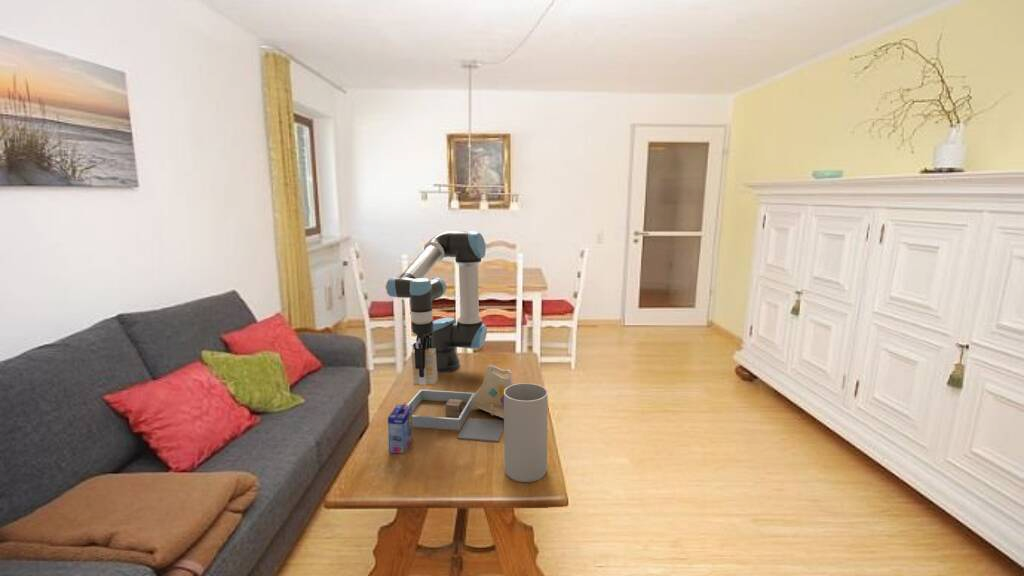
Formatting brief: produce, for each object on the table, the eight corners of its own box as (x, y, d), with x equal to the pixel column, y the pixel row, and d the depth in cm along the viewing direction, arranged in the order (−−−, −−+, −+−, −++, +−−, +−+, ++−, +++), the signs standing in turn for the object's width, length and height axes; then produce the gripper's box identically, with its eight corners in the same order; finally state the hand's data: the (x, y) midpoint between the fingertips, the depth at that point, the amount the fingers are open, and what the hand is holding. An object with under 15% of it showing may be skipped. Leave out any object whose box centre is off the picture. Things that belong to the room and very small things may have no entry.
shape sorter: (529, 417, 170) (529, 370, 167) (509, 426, 162) (509, 378, 160) (491, 402, 183) (491, 359, 181) (471, 410, 176) (471, 365, 173)
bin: (420, 398, 187) (420, 389, 186) (475, 402, 183) (475, 392, 182) (398, 425, 165) (397, 415, 164) (460, 430, 161) (459, 419, 160)
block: (449, 411, 176) (449, 399, 175) (462, 412, 175) (462, 399, 174) (446, 417, 171) (445, 404, 170) (459, 418, 170) (458, 405, 169)
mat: (468, 419, 169) (467, 418, 169) (505, 422, 167) (505, 420, 167) (457, 438, 156) (457, 437, 156) (498, 442, 153) (498, 440, 153)
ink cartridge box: (405, 454, 146) (403, 411, 144) (388, 453, 147) (385, 411, 144) (413, 438, 156) (411, 398, 153) (397, 437, 156) (395, 397, 154)
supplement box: (438, 380, 175) (436, 348, 172) (434, 386, 170) (433, 352, 167) (416, 380, 176) (414, 347, 173) (412, 385, 171) (410, 352, 168)
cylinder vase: (533, 488, 129) (534, 405, 124) (496, 474, 135) (495, 394, 130) (553, 467, 139) (555, 388, 134) (518, 455, 146) (518, 380, 141)
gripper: (421, 314, 177) (424, 371, 182) (402, 328, 160) (406, 390, 165) (439, 314, 176) (442, 372, 181) (423, 329, 159) (427, 392, 164)
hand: (425, 381), depth 173 cm, fingers closed on supplement box, 5 cm apart
